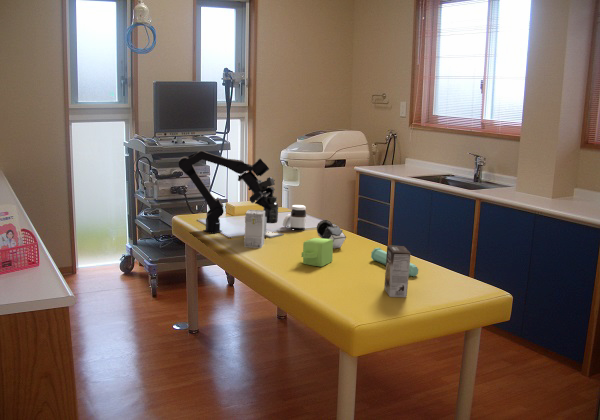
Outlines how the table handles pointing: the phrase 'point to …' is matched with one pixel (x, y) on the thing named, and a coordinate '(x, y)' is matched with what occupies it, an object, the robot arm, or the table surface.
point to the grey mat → (273, 234)
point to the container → (381, 257)
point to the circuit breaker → (255, 228)
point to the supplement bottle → (273, 213)
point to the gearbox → (317, 251)
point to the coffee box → (397, 271)
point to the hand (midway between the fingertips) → (273, 208)
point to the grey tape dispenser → (331, 233)
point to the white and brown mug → (296, 218)
